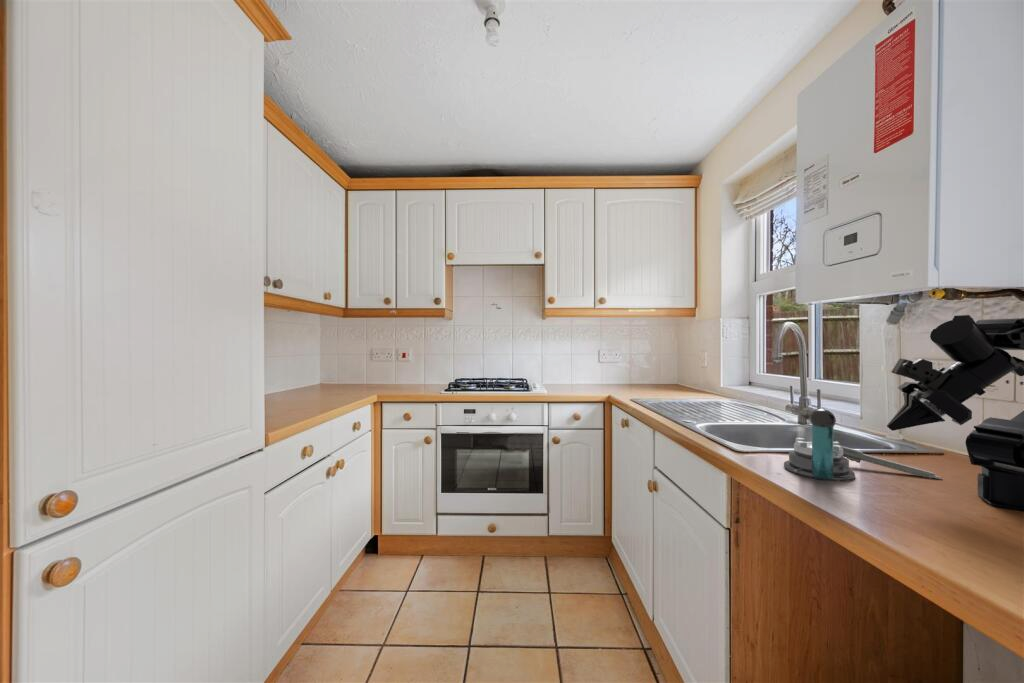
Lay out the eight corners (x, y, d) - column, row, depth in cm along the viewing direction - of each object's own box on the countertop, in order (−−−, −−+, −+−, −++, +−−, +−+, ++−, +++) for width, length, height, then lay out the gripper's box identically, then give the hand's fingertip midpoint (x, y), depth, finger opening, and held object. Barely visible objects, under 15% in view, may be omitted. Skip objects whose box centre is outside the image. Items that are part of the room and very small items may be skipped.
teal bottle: (839, 463, 94) (840, 402, 94) (851, 483, 81) (852, 412, 81) (793, 457, 99) (793, 399, 99) (797, 475, 86) (797, 408, 86)
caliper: (823, 464, 100) (823, 438, 100) (823, 463, 100) (823, 437, 100) (942, 481, 87) (942, 452, 87) (941, 480, 88) (941, 451, 88)
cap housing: (849, 468, 95) (850, 454, 95) (859, 485, 84) (859, 468, 84) (783, 459, 102) (783, 446, 102) (784, 474, 91) (784, 458, 91)
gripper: (911, 343, 85) (844, 392, 91) (945, 345, 69) (861, 404, 75) (965, 383, 81) (891, 431, 87) (1014, 393, 65) (919, 452, 71)
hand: (889, 428), depth 80 cm, fingers closed
